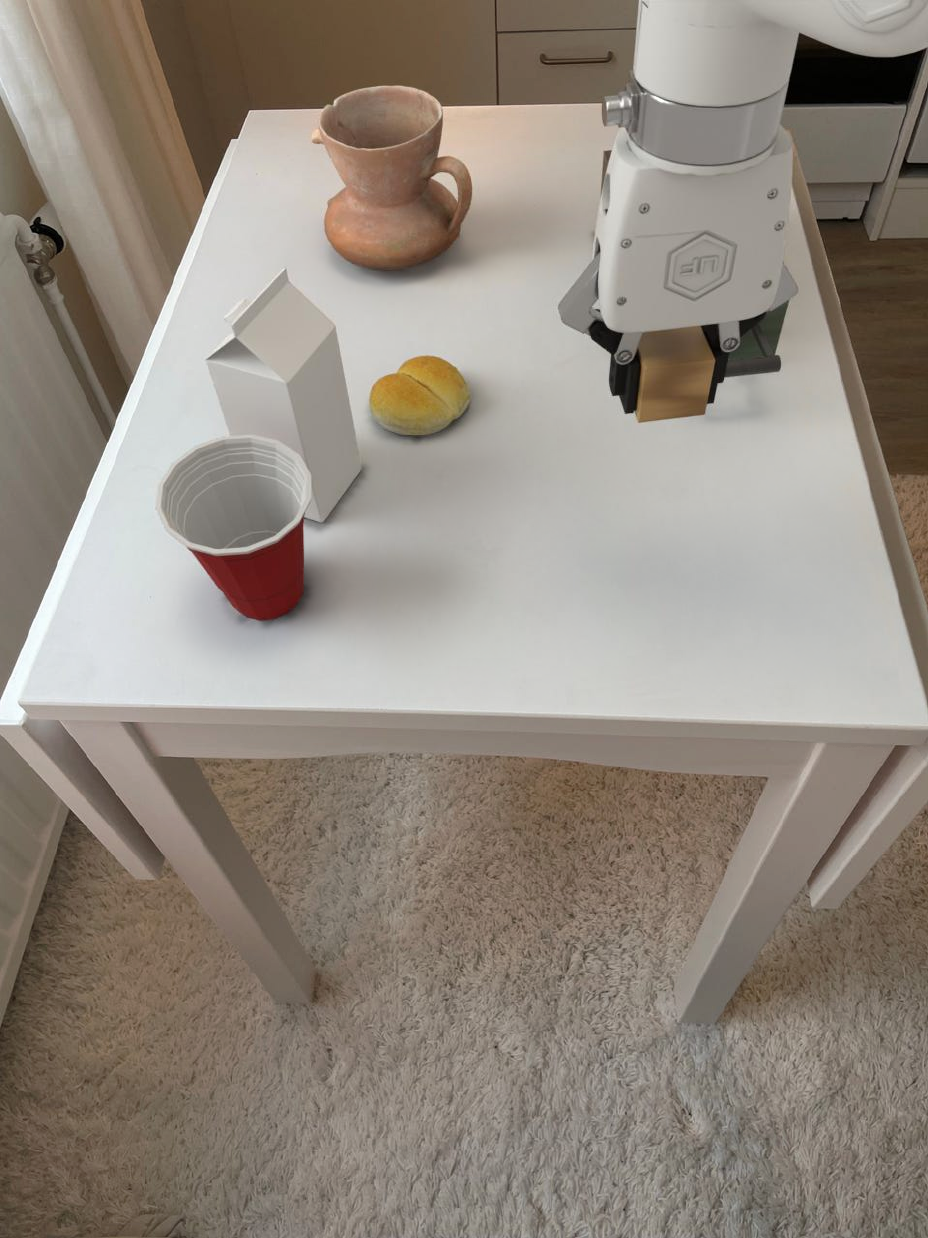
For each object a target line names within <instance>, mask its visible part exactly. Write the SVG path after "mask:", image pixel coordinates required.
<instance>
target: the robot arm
mask: <svg viewBox="0 0 928 1238" xmlns="http://www.w3.org/2000/svg"><path fill="white" fill-rule="evenodd" d="M635 31H636V33H635V43H634V55H633V65H632V66H633V68H632V69H630V70H629V71H628V82H627V83H626V84H625V86H624V87H625V88H624V91H618V92H617V94H616V95H607V96H603V97H602V101H601V120H602V124H603V127H604V128H605V127H613V126H617V127H618V128H619V130H618V132H617V134H616V136H615V139H614V142H613V145H612V149H611V150H612V152H611V155H610V159H609V163H608V167H607V171H606V175H605V180H604V184H603V188H602V193H601V192H600V197H601V198H599V203H598V209H597V215H596V222H595V228H594V229H595V230H594V237H593V243H592V256H591V262H590V263H589V264H588V265H587V267H586V268H585V269H584V271H583V272H582V273H581V274H580V275H579V276H578V278H577V279H576V281H575V282H574V283H573V285H572V286H571V287H570V288H569V290H568V291H567V292H566V293H565V295H564V296H563V298H561V300H560V301H559V303H558V305H557V310H558V313H559V317H560V320H561V322H562V323H563V325H565V326H567V327H569V328H571V329H572V330H576V331H577V332H579V333H581V334H584V335H585V334H586V335H588V336H589V337H590V339H591V340H592V341H593V342H594V343H595V344H597V345H598V346H599V347H601V348H602V349H604V350H605V351H606V352H607V353H609V354H610V358H609V359H610V360H609V361H610V362H609V370H608V373H609V374H608V386H609V391H610V393H611V396H612V397H619V400H620V403H621V406H622V409H623V412H624V415H628V414H635V412H634V411H636V407H637V398H638V390H639V381H640V373H641V364H640V361H639V358H638V355H637V349H638V346H639V343H640V341H641V338H642V336H643V333H644V332H651V331H660V330H668V329H677V328H685V327H694V326H701V328H702V331H703V333H704V335H705V337H706V340H707V342H708V344H709V347H710V349H711V351H712V353H713V356H714V358H715V364H714V370H713V375H712V380H711V385H710V390H709V395H708V401H707V405H710V404H714V403H715V401H716V400H715V399H716V394H717V390H718V385H719V384H723V383H724V381H725V378H724V377H725V372H726V367H727V363H728V358H729V353H730V352H731V351H734V350H735V349H736V348H737V347H738V346H739V344H740V338H741V337H742V336H743V335H744V334H745V333H747V332H748V331H749V330H750V329H752V328H753V327H754V326H755V325H756V324H758V323H759V322H760V321H761V320H762V319H763V318H764V317H765V316H766V313H767V312H768V311H772V310H774V309H776V308H777V307H779V306H780V305H782V304H783V303H785V302H786V301H788V300H789V299H790V300H791V299H792V298H794V297H795V296H796V295H797V294H798V292H799V287H798V285H797V283H796V281H795V279H794V277H793V275H792V274H791V272H790V271H789V269H788V267H787V266H786V264H785V262H784V258H785V256H784V255H785V250H786V244H787V237H788V230H789V219H790V211H791V198H792V186H793V164H794V162H793V161H794V159H793V157H794V145H793V138H792V136H791V134H790V133H789V132H788V131H787V130H786V129H785V127H783V125H782V124H781V121H782V118H783V117H782V116H783V112H784V107H785V102H786V98H787V93H788V88H789V82H790V77H791V73H792V70H793V64H794V60H795V55H796V50H797V44H798V39H799V35H800V34H802V35H803V36H806V37H808V38H811V39H813V40H816V41H818V42H820V43H823V44H825V45H828V46H831V47H833V48H835V49H839V50H841V51H845V52H848V53H852V54H854V55H860V56H865V57H873V58H895V57H901V56H905V55H910V54H913V53H916V52H919V51H922V50H924V49H927V48H928V0H638V8H637V17H636V30H635ZM790 300H789V301H790ZM597 301H598V304H599V308H593V306H594V305H595V304H596V302H597Z"/></svg>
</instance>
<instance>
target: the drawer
mask: <svg viewBox="0 0 928 1238" xmlns="http://www.w3.org/2000/svg"><path fill="white" fill-rule="evenodd" d="M790 300H791V299H789V300H788V301H786V302H785V303H783V304H782V305H780V306H779V307H777V308H776V309H774V310H772V311H768V312H767V313H766V316H765V317H764V318H763V319H762V320H761V321H760V322H759V323H758V324H756V325H755V326H754V327H753V328H752V329H750V330H749V331H748V332H747V333H745V334H744V335H743V336H742V337H741V338H740V344H739V346H738V347H737V348H736V349H735V350H734V351H731V352H730V353H729V358H728V363H727V367H726V372H725V377H724V379H725V378H726V379H727V378H734V377H745V376H754V375H762V374H763V375H764V374H771V373H772V374H773V373H779V372H780V371H781V368H782V357H781V355H779V354H776V353H777V349H778V345H779V341H780V338H781V334H782V331H783V327H784V323H785V319H786V315H787V310H788V307H789V303H790Z"/></svg>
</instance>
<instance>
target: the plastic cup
mask: <svg viewBox="0 0 928 1238" xmlns="http://www.w3.org/2000/svg"><path fill="white" fill-rule="evenodd" d="M310 501H311V474H310V472H309V470H308V468H307V467H306V465H305V463H304V461H303V460H302V458H301V456H300V455H299V454H298V453H296V452H295V451H293V450H292V449H290V448H289V447H287V446H286V445H284V444H283V443H281V442H280V441H277V440H273V439H269V438H265V437H260V436H256V435H236V436H230V435H224V436H223V435H222V436H219V437H216V438H214V439H211V440H209V441H205V442H203V443H200V444H197V445H194V446H193V447H192V448H190V449H189V450H188V451H186V452H185V453H184V454H182V455H181V456H180V457H179V458H177V459H176V460H174V461H173V462H172V463H171V464H170V466H169V467H168V469H167V470H166V472H165V473H164V475H163V477H162V478H161V480H160V481H159V483H158V484H157V492H156V502H155V510H156V513H157V515H158V517H159V520H160V521H161V524H162V526H163V528H164V531H165V532H167V534H169V535H170V536H171V537H173V538H174V539H176V541H178V542H179V543H181V544H182V545H184V546H185V548H187V550H188V551H190V552H191V553H192V554H193V556H194V557H195V559H196V560H197V562H198V563H199V564H200V566H201V567H202V569H204V571H205V572H206V574H207V575H208V576H209V578H210V579H211V581H212V582H213V583H214V585H215V586H216V587H217V589H219V591H221V592H222V593H223V595H224V596H225V597H226V599H227V600H228V602H229V603H230V605H231V606H232V608H234V609H235V610H236V611H238V612H239V613H240V614H241V615H243V616H244V617H246V618H248V619H253V620H257V621H266V620H274V619H277V618H279V617H281V616H284V615H286V614H288V613H290V611H292V610H293V609H294V608H295V607H296V606H297V605H298V604H299V602H300V600H301V598H302V596H303V594H304V590H305V571H304V570H305V569H304V568H305V541H304V540H305V539H304V538H305V537H304V536H305V535H304V523H305V517H304V515H305V511H306V509H307V507H308V505H309V503H310Z"/></svg>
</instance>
